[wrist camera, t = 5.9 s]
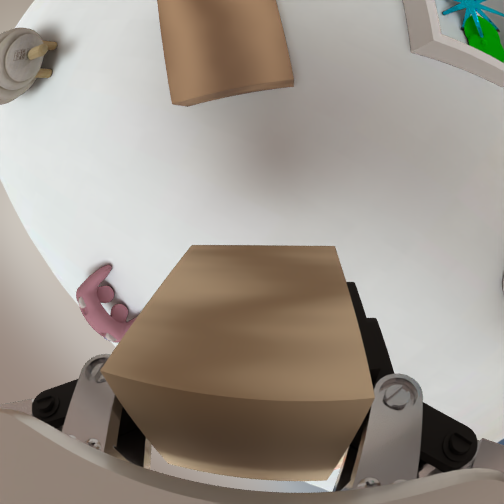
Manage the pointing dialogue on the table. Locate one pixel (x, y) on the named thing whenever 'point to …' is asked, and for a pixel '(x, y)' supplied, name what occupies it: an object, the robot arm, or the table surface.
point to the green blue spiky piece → (480, 27)
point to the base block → (222, 48)
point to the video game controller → (94, 312)
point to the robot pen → (452, 40)
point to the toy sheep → (21, 61)
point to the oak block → (247, 363)
